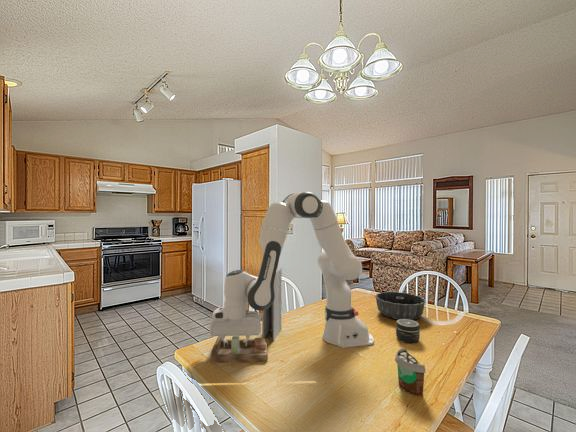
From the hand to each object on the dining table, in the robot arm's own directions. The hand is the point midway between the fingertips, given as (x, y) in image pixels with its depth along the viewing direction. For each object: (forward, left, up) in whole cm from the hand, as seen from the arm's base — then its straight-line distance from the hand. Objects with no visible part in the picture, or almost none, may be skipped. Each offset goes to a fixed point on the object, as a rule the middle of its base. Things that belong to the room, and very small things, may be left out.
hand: (235, 345), depth 115 cm
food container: (-58, +24, -4) cm, 63 cm away
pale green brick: (0, 0, -3) cm, 3 cm away
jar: (-75, -11, -4) cm, 76 cm away
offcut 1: (-10, 0, -1) cm, 10 cm away
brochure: (-14, -18, -4) cm, 23 cm away
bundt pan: (-85, -42, -4) cm, 95 cm away
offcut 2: (-10, 0, -3) cm, 10 cm away
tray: (-2, 0, -4) cm, 4 cm away
